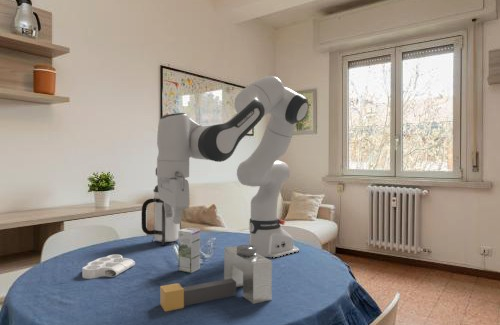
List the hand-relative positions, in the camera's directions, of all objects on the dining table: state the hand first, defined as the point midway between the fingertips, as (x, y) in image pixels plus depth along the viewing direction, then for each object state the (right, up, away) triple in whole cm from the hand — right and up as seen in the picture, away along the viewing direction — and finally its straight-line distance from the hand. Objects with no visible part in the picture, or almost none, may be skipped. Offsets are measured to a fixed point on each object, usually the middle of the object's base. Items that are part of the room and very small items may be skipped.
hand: (172, 220), depth 97 cm
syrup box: (0, -22, +26) cm, 34 cm away
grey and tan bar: (+8, -22, 0) cm, 24 cm away
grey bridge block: (+21, -22, +7) cm, 31 cm away
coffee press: (-18, -21, +64) cm, 70 cm away
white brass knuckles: (-29, -22, +25) cm, 44 cm away
